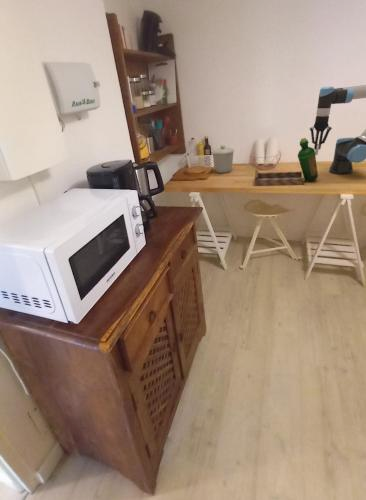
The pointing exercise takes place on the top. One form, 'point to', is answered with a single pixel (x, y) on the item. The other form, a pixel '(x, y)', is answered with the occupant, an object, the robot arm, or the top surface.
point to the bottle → (307, 161)
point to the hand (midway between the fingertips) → (316, 154)
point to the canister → (223, 159)
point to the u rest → (278, 178)
